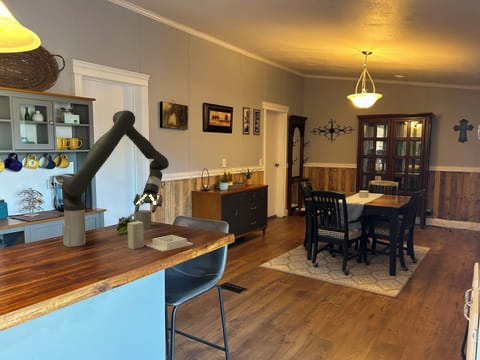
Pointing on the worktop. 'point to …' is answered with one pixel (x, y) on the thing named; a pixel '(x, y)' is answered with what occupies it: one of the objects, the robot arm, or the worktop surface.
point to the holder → (168, 243)
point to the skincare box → (135, 235)
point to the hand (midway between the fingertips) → (144, 211)
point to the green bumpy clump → (123, 224)
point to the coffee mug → (143, 218)
